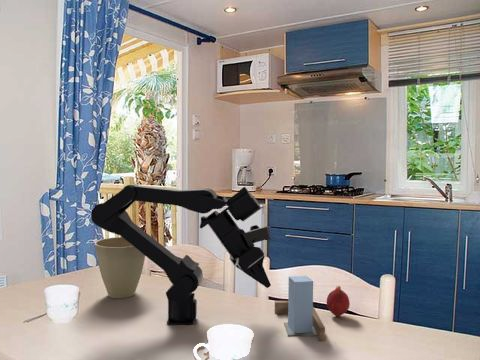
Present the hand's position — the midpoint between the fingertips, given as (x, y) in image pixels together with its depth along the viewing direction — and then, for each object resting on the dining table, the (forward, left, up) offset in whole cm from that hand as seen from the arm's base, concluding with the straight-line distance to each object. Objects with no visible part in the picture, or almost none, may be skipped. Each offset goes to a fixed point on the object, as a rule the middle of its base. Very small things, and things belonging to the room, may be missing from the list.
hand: (265, 284), depth 99 cm
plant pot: (-41, +21, -10) cm, 47 cm away
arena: (+7, -2, -10) cm, 12 cm away
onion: (+19, +4, -10) cm, 22 cm away
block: (+8, -4, -9) cm, 13 cm away
